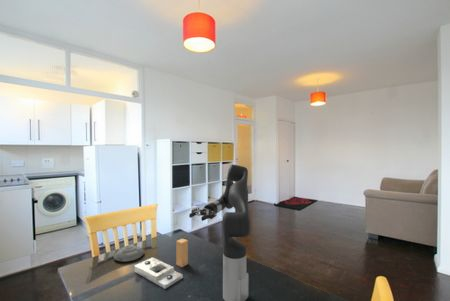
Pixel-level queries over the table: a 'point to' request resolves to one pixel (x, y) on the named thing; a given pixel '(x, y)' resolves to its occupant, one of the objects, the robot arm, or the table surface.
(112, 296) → the table surface
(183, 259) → the pin
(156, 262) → the white peg board
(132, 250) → the flying saucer
